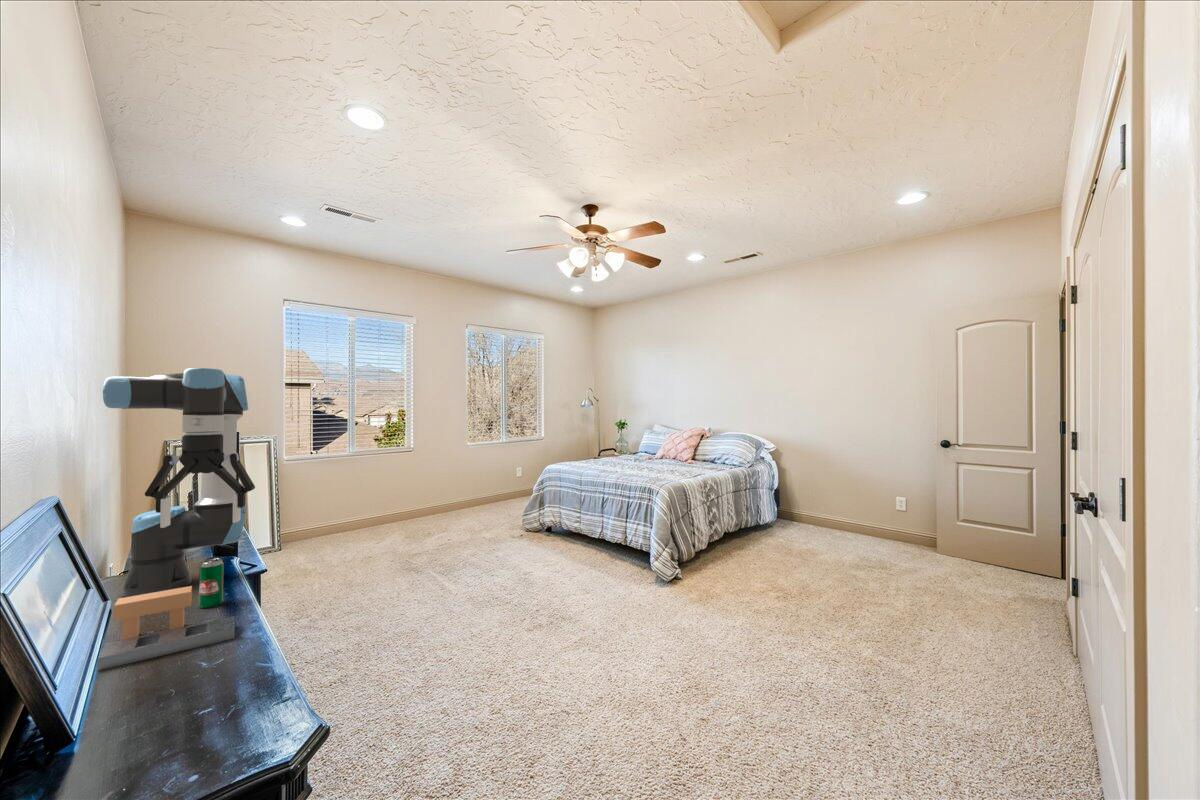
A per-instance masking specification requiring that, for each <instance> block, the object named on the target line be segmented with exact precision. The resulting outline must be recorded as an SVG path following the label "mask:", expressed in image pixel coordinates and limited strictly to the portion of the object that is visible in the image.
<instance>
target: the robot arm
mask: <svg viewBox="0 0 1200 800" xmlns="http://www.w3.org/2000/svg"><path fill="white" fill-rule="evenodd" d="M246 389H247V388H246V383H245V379H244V377H242V376H241V375H236V374H228V373H225V372H224V371H223V370H222V369H218V368H207V367H190V368H189V367H188V368H186V369H185V370H184V371H183V372H180V373H179V372H178V373H177V372H176V373H169V374H157V375H152V376H149V377H148V376H147V377H145V376H142V377H140V376H138V377H137V376H126V375H125V376H109V377H107V378H106V379H105V380H104V382H103V386H102V401H103V404H104V405H105V407H107V408H109V409H122V410H130V409H131V410H132V409H133V410H134V409H135V410H137V409H138V410H139V409H144V410H145V409H147V410H148V409H165V410H166V409H168V410H176V411H182V421H181V422H182V423H181V426H182V427H181V429H182V430H181V432H182V433H185V434H184V435H182V436H181V454H180V455H175V454H167V455H165V456H164V457H163V460H162V466H161V467H160V468H159V470H158V472H157V474H156V475H155V477H154V478H153V480H152V481H151V483H150V484H149V486H148V488H147V489H146V491H144V496H145V497H150V498H154V499H155V509H154V510H150V511H146V512H143V513H140V514H138V515H136V516H134V517H133V519H132V524H131V531H130V534H131V539H130V540H131V541H130V542H131V543H130V544H131V546H130V550H131V552H130V555H131V556H130V568H129V570H128V573H127V575H126V577H125V579H124V581H123V584H122V586H121V596H122V597H123V598H125V597H131V596H137V595H142V594H148V593H154V592H160V591H165V590H171V589H177V588H183V587H188V586H189V585H190V584H191V583H192V574H191V570H190V568H189V566H188V563H187V561H186V559H185V550H189V549H190V550H191V549H198V548H205V547H206V548H207V547H213V546H224V545H229V544H234V543H238V542H239V541H240V540H241V538H242V536H243V532H244V531H243V530H244V524H245V519H246V513H247V505H246V503H247V502H246V500H247V499H246V496H247V495H246V494H247V493H249V492H252V491H253V490H254V489H256V486H255V484H254V482H253V481H252V479H251V477H250V475H249V474H248V472H247V470H246V469H245V467H244V465H243V464H242V462H241V458H240V457H241V456H240V453H239V452H237V442H238V441H237V438H238V436H237V435H238V434H237V431H238V430H237V429H238V425H237V423H238V421H239V420H240V419H241V418H242V417H243V416H244V412H245V411H248V410H249V404H248V397H247V396H248V395H247V390H246ZM178 462H180V463H181V465H182V468H181V469H180V470H178V472H177V474H175V475H174V476H173V477H172V478H171V479H170V480H169V481H168V482H167V483H166V484H165V485H164V486H163V484H164V482H165V481H166V479H167V478H168V476H169V475H170V473H171V471H172V470H173V468H174V466H175V465H177V464H178ZM190 474H192V475H195V474H201V475H200V477H201V478H200V481H201V483H200V484H201V485H200V487H201V488H200V498H199V499H198V500H196V502H195V503H194V504H193V505H194V507H193V508H194V509H191V510H190V509H189V510H187V508H186V507H185V506H184V505H176V506H172V505H171V504H172V503H171V501H172V498H171V496H168V495H169V493H171V491H172V490H174V489H175V488H176V487H177V486H178V485H179V484H180V483H181V482H182V481H184V479H186V477H187V476H189V475H190ZM237 478H238V479H239V481H240V482H239V481H238V479H237ZM241 483H242V484H241ZM162 486H163V487H162ZM161 487H162V488H161ZM160 488H161V489H160Z"/></svg>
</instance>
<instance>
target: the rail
mask: <svg viewBox="0 0 1200 800" xmlns="http://www.w3.org/2000/svg"><path fill="white" fill-rule="evenodd" d="M169 629H170V628H169ZM169 629H167V630H162V631H161V630H160V631H156V632H152V633H148V634H142V635H139V636H137V637H133V638H128V639H123V640H122V639H118V640H115V641H110V642H106V643H105V644H104V646H103V648H102V650H101V651H100V653H99V655H98V657H97V668H96V669H97V672H99V671H102V670H107V669H111V668H115V667H119V666H123V665H128V664H132V663H136V662H140V661H141V662H142V661H144V660H149V659H153V658H157V657H162V656H165V655H171V654H174V653H179V652H183V651H187V650H192V649H197V648H200V647H204V646H209V645H212V644H217V643H221V642H225V640H226V641H230V640H233V639H235V638H236V637H235V635H236V633H235V631H236V617H235V615H233V616H228V617H223V618H218V619H214V620H213V619H212V620H209V621H203V622H199V623H195V624H190V625H186V626H185V625H184V627H180V628H175V629H170V630H169Z"/></svg>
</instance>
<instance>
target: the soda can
mask: <svg viewBox="0 0 1200 800" xmlns="http://www.w3.org/2000/svg"><path fill="white" fill-rule="evenodd" d="M198 572H199V576H198V577H199V578H198V581H199V582H198V607H200V608H201V609H210V608H215V607H217V606H219V605H221V604H222V603H223V602H224V562H223V559H222V558H218V557H216V558H215V557H214V558H209V559H206V560H203V561H201V564H200V565H199V571H198Z"/></svg>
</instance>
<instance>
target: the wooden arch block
mask: <svg viewBox="0 0 1200 800" xmlns="http://www.w3.org/2000/svg"><path fill="white" fill-rule="evenodd" d="M192 597H193V585H190V586H189V585H187V586H185V587H183V588H177V589H171V590H165V591H160V592H154V593H148V594H142V595H137V596H131V597H120V598H117V601H116V602H115V603H114V605H113V622H118V621H122V623H121V640H123V639H128V638H133V637H137V636H140V621H141V619H140V617H143V616H147V615H153V614H159V613H164V612H169V629H168V630H170V629H175V628H180V627H184V626H185V608H190V607H191V604H192V600H193V598H192Z"/></svg>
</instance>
